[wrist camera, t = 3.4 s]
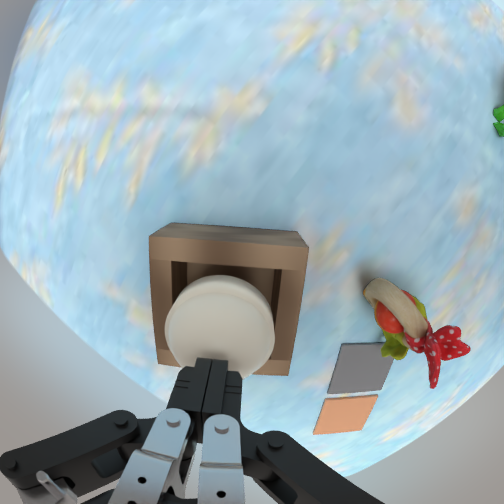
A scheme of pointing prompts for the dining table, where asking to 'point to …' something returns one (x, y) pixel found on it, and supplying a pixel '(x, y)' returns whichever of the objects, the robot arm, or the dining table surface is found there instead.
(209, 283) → the dome button
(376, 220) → the dining table surface
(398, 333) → the bird rattle
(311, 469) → the robot arm
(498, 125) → the kitten
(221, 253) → the button frame
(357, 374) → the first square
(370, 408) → the tile
